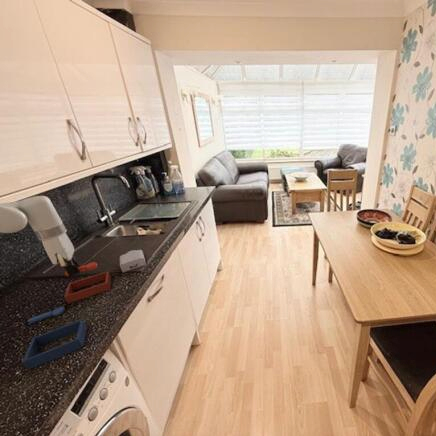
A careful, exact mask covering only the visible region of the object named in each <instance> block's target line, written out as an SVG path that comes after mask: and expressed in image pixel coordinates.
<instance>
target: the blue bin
mask: <svg viewBox="0 0 436 436" xmlns="http://www.w3.org/2000/svg"><path fill="white" fill-rule="evenodd" d="M87 328H88V326H87V324H86V322H85V320H84V319H83V318H81V319H78V320H77V321H73V322H71V323H68V324H66V325H63V326H60V327H57V328H55V329H53V330H50V331H47V332H44V333H41V334H40V335H37V336H34V337H32V339H31V340H30V342H29V343H30V344H29V346H28V347H27V350H26V353H25V355H24V357H23V360H22V364H23V365H24V366H25V367H26V368H27V370H31V369H35V368H37V367H39V366H41V365H44V364H46V363H49V362H50V361H53V360H56V359H58V358H60V357H63V356H65V355H68V354H69V353H72V352H75V351H77V350H79V349H82V348H84V344H85V338H86V334H87V330H88V329H87ZM74 333H76V337H75V339H73V340H70V341H68V342H65V343H63V344H59V345H58V346H55V347H53V348H50V349H48V350H45V351H43V352H40V353H39V350H40V348H41V346H44V345H46V344H49V343H51V342H54V341H56V340H58V339H62V338H64V337H67V336H68V335H71V334H74Z"/></svg>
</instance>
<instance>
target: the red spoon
mask: <svg viewBox="0 0 436 436" xmlns="http://www.w3.org/2000/svg"><path fill="white" fill-rule="evenodd" d="M79 266H80V267H77V268H78V269H79V271H80V273H82V272H86V271H93V270H95V269H96V268H98V267H99V266H98V264H97V261H91V262H89V263H87V264H86V265H79ZM64 275H65V276H66V277H70V276H69V275H68V273H67V271H66V270H65V271H64Z"/></svg>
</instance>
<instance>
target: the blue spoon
mask: <svg viewBox="0 0 436 436" xmlns="http://www.w3.org/2000/svg"><path fill="white" fill-rule="evenodd" d="M65 311H66V307H65V306H58V307H57V308H54V309H53V310H50V311H47V312H44V313H42V314H39V315H36V316H33V317H30V318H29V319H28V320H27V323H28V324H29V325H30V324H32V323H36V322H38V321H41V320H44V319H47V318H50V317H52V316H53V317H57V316H59V315H61V314H63V313H65Z"/></svg>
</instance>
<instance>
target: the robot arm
mask: <svg viewBox="0 0 436 436" xmlns="http://www.w3.org/2000/svg"><path fill="white" fill-rule="evenodd" d="M27 224H29V225H30V228H31V229H32V230H33V233H34V234H35V235H36V237H37V239H38V240H40V241H41V243H42V245H43V249H44V250H45V252H46V255H47V256H48V258H49V260H50V262H51V264H52V265H55V266H56V265H57V264H58V263H59V265H60V266H61V268H64V270H65V271H67V273H68V275H69V276H68V277H71V276H75V275H78V274H81V272H80V271H79V269H78V268H77V267H80V266H81V265H80V264H79V262H78V261H77V259H76V257H75V255H74V254H75V247H74V245H73V243H72V241H71V239H70V238H69V236H68V235H67V231H68V229H66V228H67V227H66V226H65V224H64V223H63V221H62V219H61V216H59V214H58V212H57V210H56V208H55V207H54V204H53V203H52V201H51V199H50V198H49V197H48V196H45V195H35V196H31V197H27V198H24V199H21V200H17V201H10V202H1V203H0V234H1V233H2V234H13V233H17V232H20V231H21V230H23V229H24V228H25V227H26V226H27Z"/></svg>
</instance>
